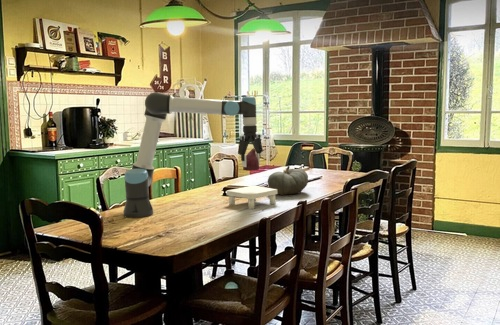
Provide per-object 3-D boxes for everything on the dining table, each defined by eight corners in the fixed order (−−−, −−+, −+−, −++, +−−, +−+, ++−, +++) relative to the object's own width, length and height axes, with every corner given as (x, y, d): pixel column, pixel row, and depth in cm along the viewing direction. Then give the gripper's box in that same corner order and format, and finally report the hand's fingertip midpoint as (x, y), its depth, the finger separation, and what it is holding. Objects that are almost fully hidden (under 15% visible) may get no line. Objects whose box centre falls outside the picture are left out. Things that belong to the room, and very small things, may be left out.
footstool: (227, 204, 273) (226, 190, 272) (253, 199, 286) (252, 185, 285) (251, 209, 258) (250, 194, 257) (277, 203, 271) (277, 189, 270)
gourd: (318, 188, 298) (312, 161, 295) (287, 201, 284) (280, 172, 282) (293, 188, 319) (287, 162, 316) (262, 199, 305) (256, 172, 303)
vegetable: (261, 174, 270) (267, 151, 267) (249, 174, 264) (255, 150, 261) (251, 168, 277) (256, 146, 274) (238, 168, 270) (244, 145, 267)
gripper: (259, 124, 277) (260, 163, 280) (230, 126, 262) (231, 167, 265) (268, 124, 271) (269, 164, 274) (239, 126, 257) (240, 168, 259)
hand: (251, 165), depth 269 cm, fingers closed on vegetable, 9 cm apart
